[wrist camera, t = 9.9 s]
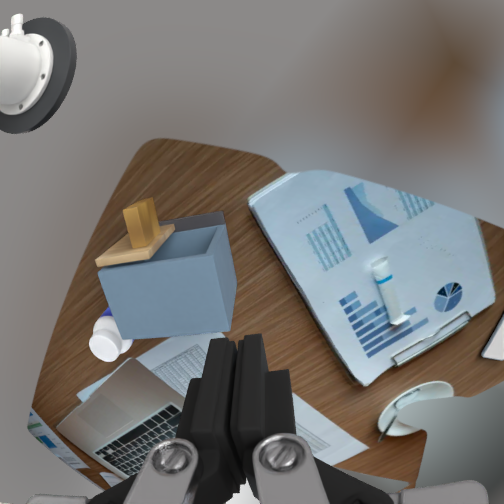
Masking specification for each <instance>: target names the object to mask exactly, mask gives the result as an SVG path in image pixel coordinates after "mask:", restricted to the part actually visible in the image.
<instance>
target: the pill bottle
mask: <svg viewBox="0 0 504 504" xmlns="http://www.w3.org/2000/svg"><path fill="white" fill-rule="evenodd" d="M133 341H134V339H128V340H122V338H121V335H120V333H119V330H118V328H117V325H116V323H115V320H114V318H113V315H112V312H111V310H110V307H108V308H107V309H106V310H105V311H104V313H103V314H102V315H101V316H100V318H99V319H98V320H97V321H96V323H95V325H94V328H93V335H92V337H91V339H90V341H89V346H90V349H91V351H92V352H93V354H94V355H95V356H96V357H98V358H99V359H101V360H103V361H107V362H112V361H114V360H116V359H117V357H118V356H119V354H121V353H124V352H126V351H127V350H128V349H129V348H130V346H131V345H132V343H133Z"/></svg>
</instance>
